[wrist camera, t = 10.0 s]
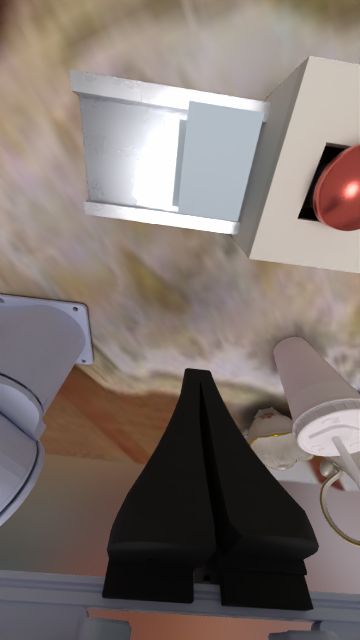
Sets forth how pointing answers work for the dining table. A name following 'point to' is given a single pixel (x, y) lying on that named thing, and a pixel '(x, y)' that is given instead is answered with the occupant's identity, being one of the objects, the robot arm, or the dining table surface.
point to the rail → (140, 147)
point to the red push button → (337, 191)
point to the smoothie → (319, 403)
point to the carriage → (214, 159)
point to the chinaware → (293, 455)
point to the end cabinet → (301, 168)
